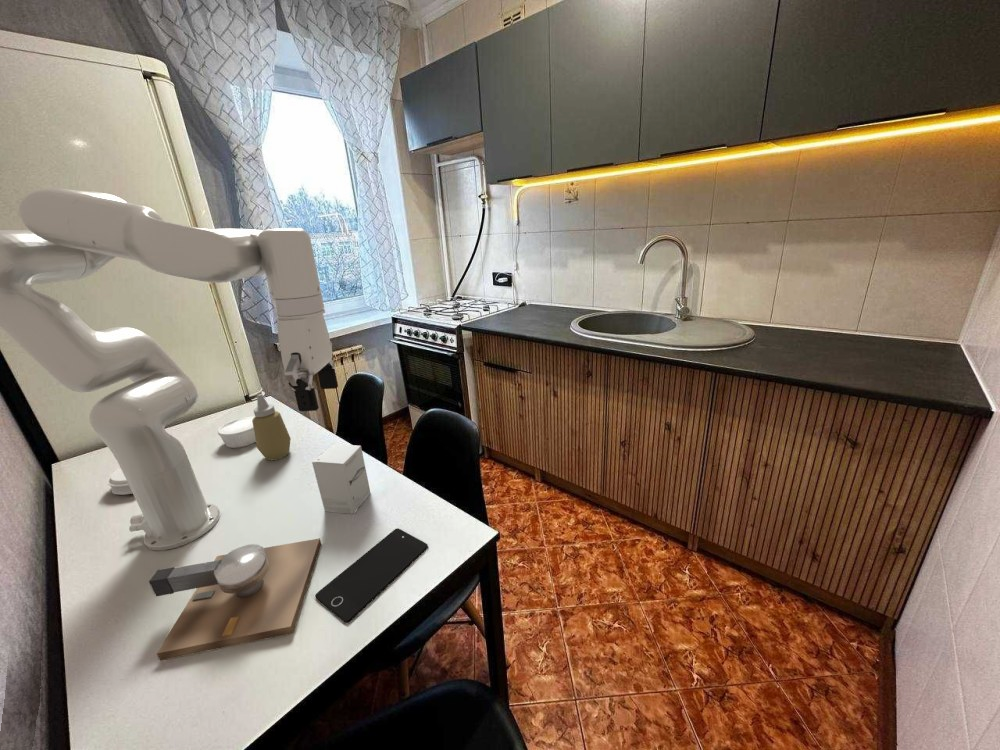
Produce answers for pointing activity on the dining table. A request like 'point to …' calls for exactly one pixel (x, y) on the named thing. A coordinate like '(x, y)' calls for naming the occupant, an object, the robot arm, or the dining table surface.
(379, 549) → the cell phone
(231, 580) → the square-handled spoon
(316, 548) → the post base
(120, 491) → the lid
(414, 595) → the dining table surface
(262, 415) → the squeeze bottle
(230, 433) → the ramekin
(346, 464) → the supplement box
